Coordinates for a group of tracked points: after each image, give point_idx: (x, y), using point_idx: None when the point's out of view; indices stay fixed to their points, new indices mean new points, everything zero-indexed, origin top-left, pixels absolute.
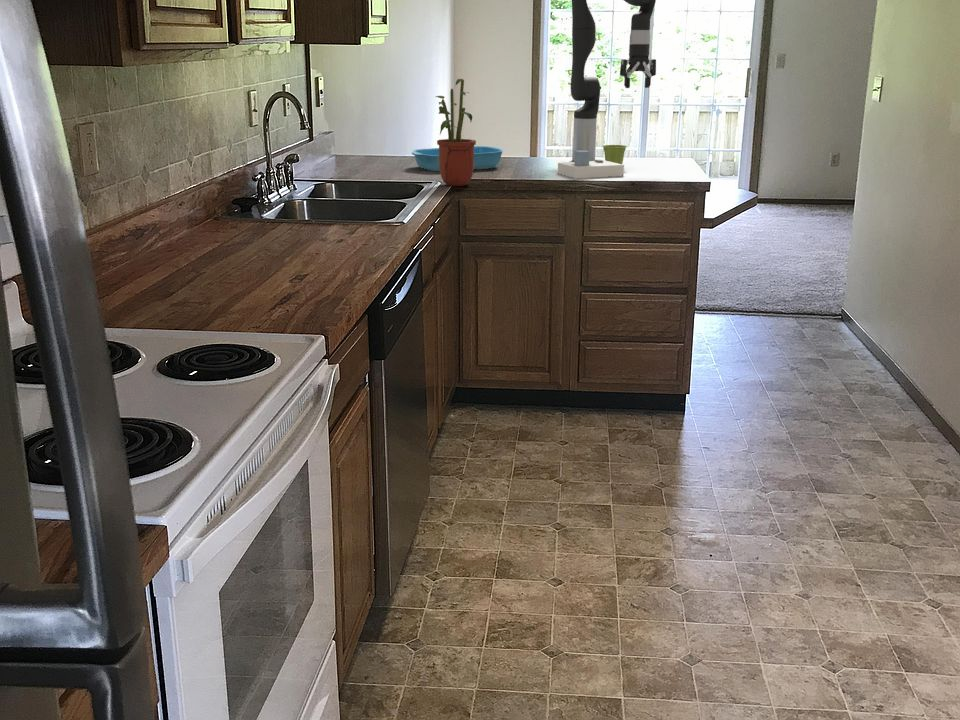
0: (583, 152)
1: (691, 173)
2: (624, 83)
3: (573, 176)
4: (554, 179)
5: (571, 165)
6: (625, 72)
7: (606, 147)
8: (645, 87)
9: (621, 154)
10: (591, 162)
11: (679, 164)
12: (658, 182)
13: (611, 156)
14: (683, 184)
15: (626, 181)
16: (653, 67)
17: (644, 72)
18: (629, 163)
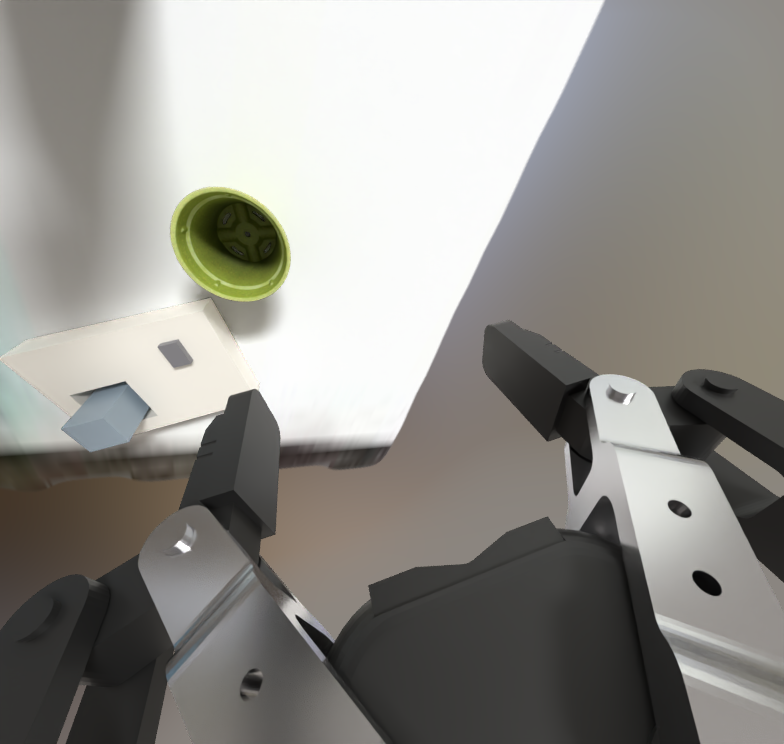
0: (106, 446)
1: (429, 348)
2: (202, 449)
3: None
4: (55, 437)
5: None
6: (155, 684)
7: (193, 278)
8: (485, 333)
9: (266, 277)
10: (148, 355)
11: (503, 153)
12: (317, 451)
13: (226, 274)
14: (353, 463)
15: None
16: (763, 556)
17: (589, 478)
18: (344, 54)
